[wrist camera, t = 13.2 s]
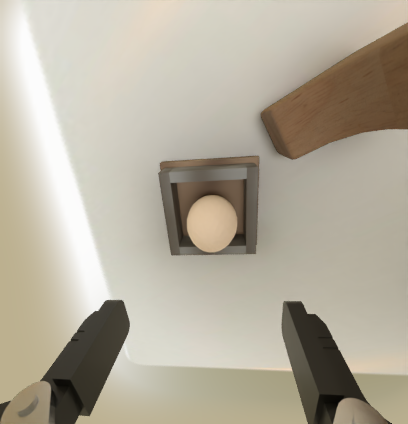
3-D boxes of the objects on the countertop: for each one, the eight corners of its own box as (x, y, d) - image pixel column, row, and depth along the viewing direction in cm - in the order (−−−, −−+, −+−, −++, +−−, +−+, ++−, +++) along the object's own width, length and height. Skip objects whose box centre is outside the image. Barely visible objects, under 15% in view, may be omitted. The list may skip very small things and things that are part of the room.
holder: (257, 155, 21) (264, 161, 17) (255, 240, 24) (260, 257, 21) (162, 161, 22) (152, 167, 18) (174, 242, 25) (167, 259, 22)
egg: (238, 222, 23) (245, 263, 16) (198, 230, 23) (188, 272, 17) (230, 182, 21) (234, 209, 14) (187, 192, 22) (172, 222, 15)
